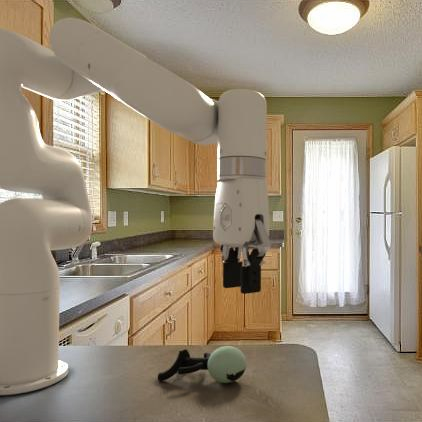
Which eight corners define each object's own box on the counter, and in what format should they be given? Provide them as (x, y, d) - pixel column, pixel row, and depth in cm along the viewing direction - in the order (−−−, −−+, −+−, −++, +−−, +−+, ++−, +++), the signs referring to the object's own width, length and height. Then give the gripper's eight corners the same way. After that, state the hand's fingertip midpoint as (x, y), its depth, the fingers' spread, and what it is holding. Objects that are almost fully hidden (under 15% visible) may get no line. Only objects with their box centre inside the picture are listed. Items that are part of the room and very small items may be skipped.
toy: (153, 389, 65) (236, 392, 61) (152, 353, 65) (234, 354, 61) (183, 370, 74) (256, 371, 70) (181, 338, 74) (254, 338, 71)
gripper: (197, 175, 64) (196, 284, 64) (249, 163, 50) (248, 302, 50) (236, 178, 68) (236, 280, 68) (294, 168, 55) (294, 296, 54)
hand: (241, 288), depth 59 cm, fingers open, 4 cm apart
